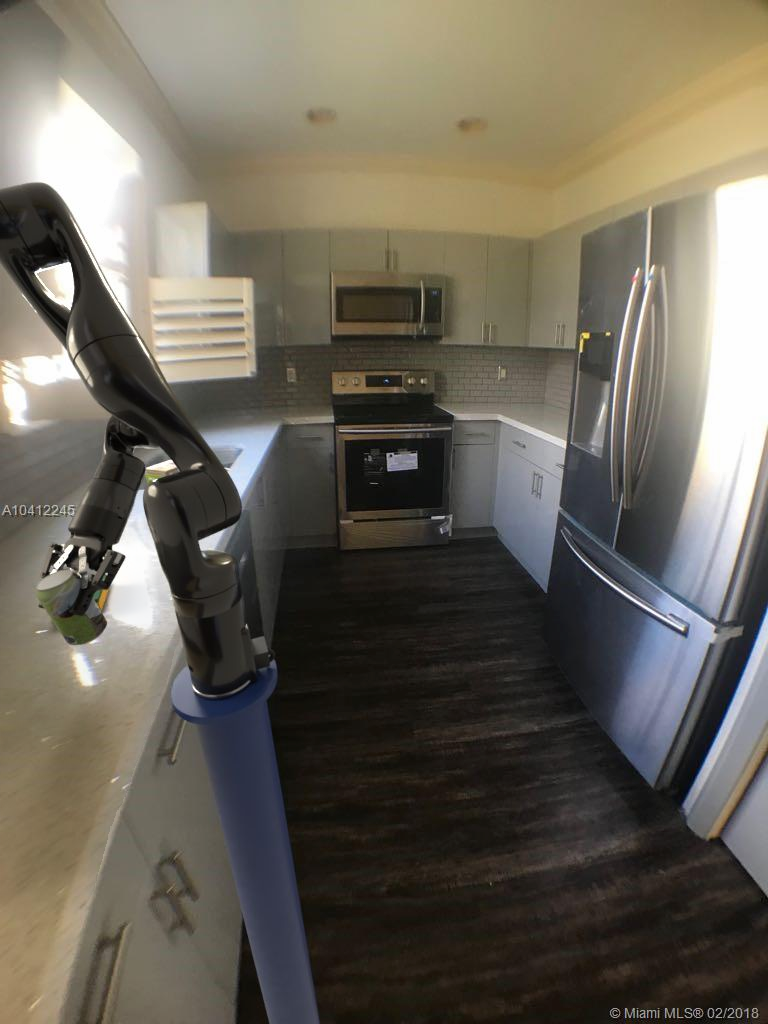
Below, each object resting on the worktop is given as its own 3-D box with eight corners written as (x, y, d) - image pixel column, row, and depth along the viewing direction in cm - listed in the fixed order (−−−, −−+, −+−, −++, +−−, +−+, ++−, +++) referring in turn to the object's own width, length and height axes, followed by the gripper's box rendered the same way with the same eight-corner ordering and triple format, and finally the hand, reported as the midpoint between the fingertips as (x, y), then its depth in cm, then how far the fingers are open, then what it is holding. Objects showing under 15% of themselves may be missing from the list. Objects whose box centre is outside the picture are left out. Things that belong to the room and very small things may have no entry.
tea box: (191, 497, 155) (182, 454, 150) (213, 500, 151) (205, 457, 146) (153, 512, 143) (142, 467, 137) (176, 517, 139) (165, 470, 133)
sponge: (109, 585, 102) (106, 573, 101) (101, 611, 92) (97, 598, 91) (68, 593, 99) (64, 581, 98) (55, 621, 89) (50, 608, 88)
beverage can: (117, 632, 75) (96, 568, 71) (69, 658, 70) (43, 591, 65) (97, 621, 79) (76, 559, 74) (50, 645, 73) (24, 580, 68)
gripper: (52, 499, 75) (3, 600, 69) (121, 505, 71) (75, 613, 65) (89, 517, 82) (47, 610, 76) (154, 523, 78) (115, 623, 72)
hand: (60, 611), depth 70 cm, fingers closed on beverage can, 5 cm apart
